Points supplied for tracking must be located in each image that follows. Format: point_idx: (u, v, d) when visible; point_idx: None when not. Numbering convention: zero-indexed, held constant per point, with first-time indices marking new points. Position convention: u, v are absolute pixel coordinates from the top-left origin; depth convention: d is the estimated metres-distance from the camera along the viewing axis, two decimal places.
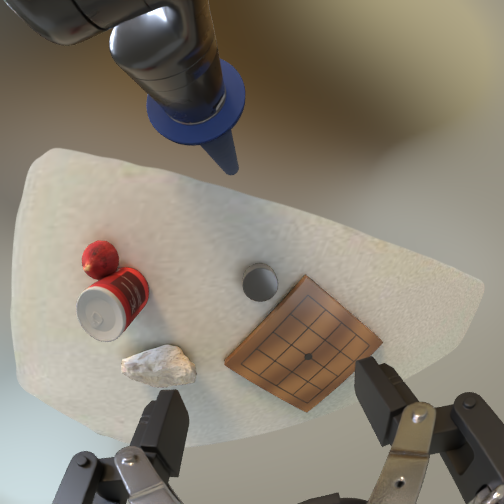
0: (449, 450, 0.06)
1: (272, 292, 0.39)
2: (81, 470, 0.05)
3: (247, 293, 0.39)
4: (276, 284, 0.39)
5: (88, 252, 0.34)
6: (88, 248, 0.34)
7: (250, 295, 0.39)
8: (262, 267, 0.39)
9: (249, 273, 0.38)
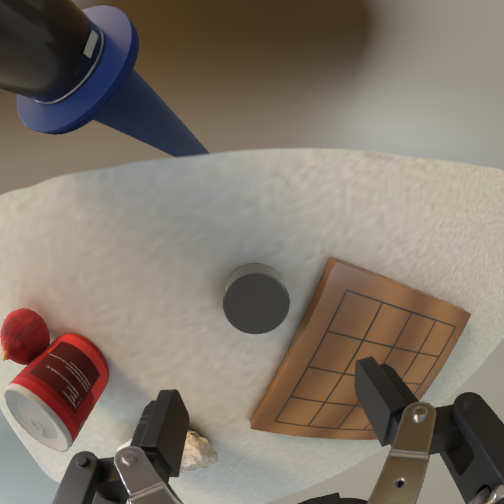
0: (449, 450, 0.06)
1: (282, 310, 0.20)
2: (81, 470, 0.05)
3: (239, 326, 0.21)
4: (284, 294, 0.20)
5: (1, 333, 0.17)
6: (2, 326, 0.17)
7: (245, 327, 0.21)
8: (248, 273, 0.20)
9: (228, 291, 0.20)
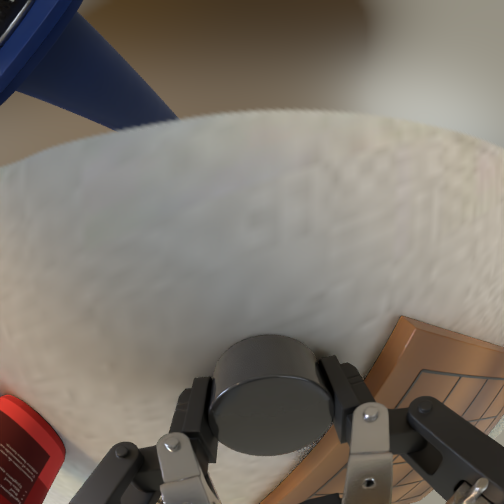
0: (412, 453, 0.06)
1: (321, 425, 0.09)
2: (118, 461, 0.06)
3: (239, 448, 0.09)
4: (328, 403, 0.09)
5: None
6: None
7: (251, 450, 0.09)
8: (256, 372, 0.09)
9: (217, 403, 0.09)
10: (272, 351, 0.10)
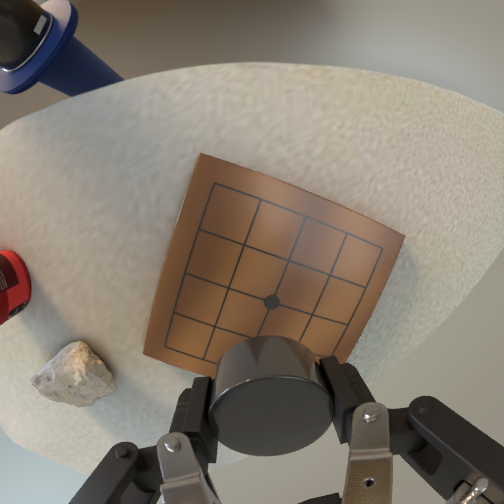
0: (412, 453, 0.06)
1: (320, 426, 0.09)
2: (118, 461, 0.06)
3: (239, 448, 0.09)
4: (328, 404, 0.09)
5: None
6: None
7: (251, 450, 0.09)
8: (256, 373, 0.09)
9: (217, 404, 0.09)
10: (272, 352, 0.10)
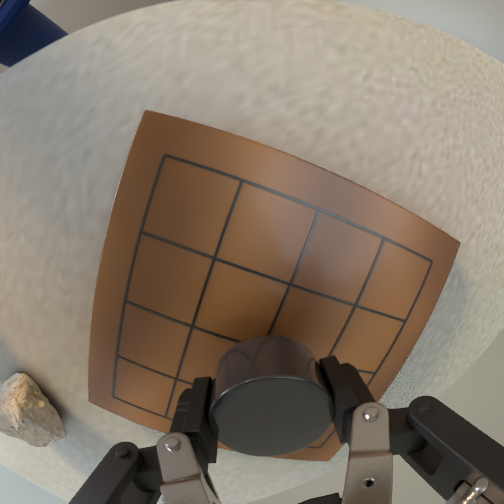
0: (412, 453, 0.06)
1: (321, 426, 0.09)
2: (118, 461, 0.06)
3: (239, 449, 0.09)
4: (328, 404, 0.09)
5: None
6: None
7: (251, 450, 0.09)
8: (257, 373, 0.09)
9: (217, 404, 0.09)
10: (272, 352, 0.10)
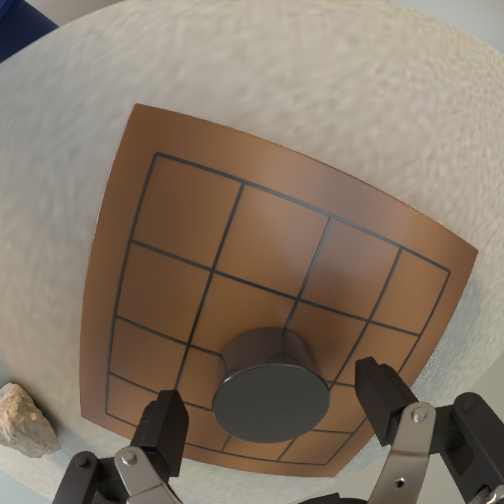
0: (449, 450, 0.06)
1: (317, 413, 0.10)
2: (81, 470, 0.05)
3: (241, 435, 0.10)
4: (324, 391, 0.10)
5: None
6: None
7: (252, 437, 0.10)
8: (257, 361, 0.10)
9: (220, 391, 0.10)
10: (272, 342, 0.11)
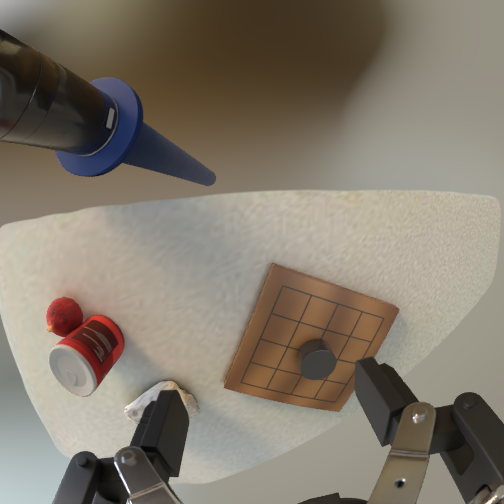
0: (449, 450, 0.06)
1: (332, 367, 0.33)
2: (81, 470, 0.05)
3: (307, 376, 0.33)
4: (334, 359, 0.33)
5: (48, 313, 0.30)
6: (48, 309, 0.30)
7: (311, 377, 0.33)
8: (315, 349, 0.33)
9: (304, 359, 0.33)
10: (318, 344, 0.34)
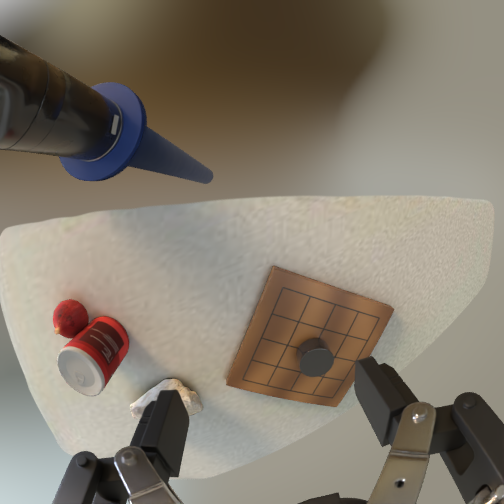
0: (449, 450, 0.06)
1: (330, 364, 0.35)
2: (81, 470, 0.05)
3: (306, 374, 0.35)
4: (332, 357, 0.35)
5: (55, 316, 0.31)
6: (55, 312, 0.32)
7: (310, 374, 0.35)
8: (314, 348, 0.35)
9: (303, 357, 0.35)
10: (316, 342, 0.36)
